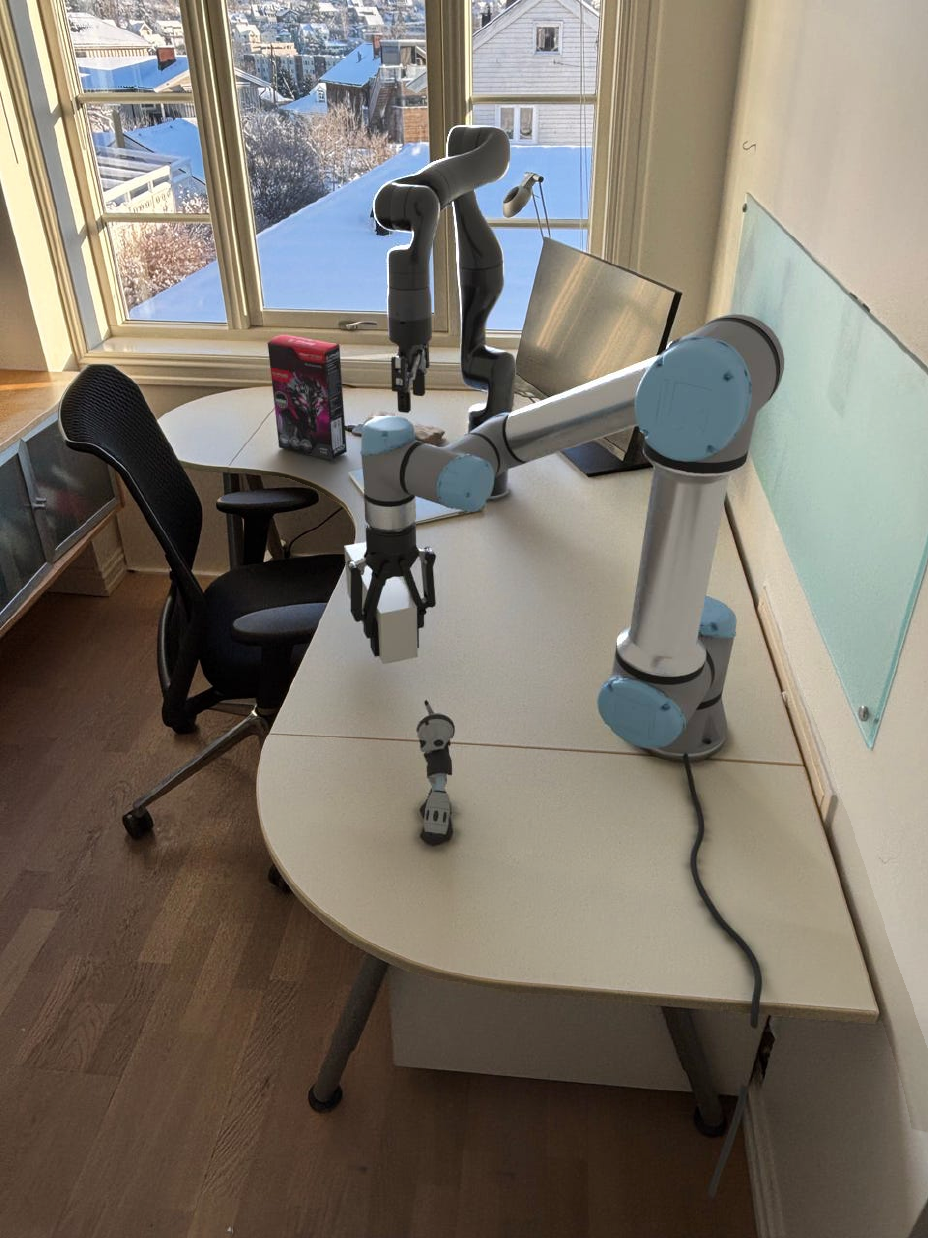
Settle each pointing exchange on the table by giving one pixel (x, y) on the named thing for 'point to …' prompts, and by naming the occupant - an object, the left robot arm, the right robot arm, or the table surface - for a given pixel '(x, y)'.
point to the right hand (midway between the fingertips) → (394, 647)
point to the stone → (416, 430)
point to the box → (389, 612)
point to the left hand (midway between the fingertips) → (411, 403)
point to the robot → (436, 775)
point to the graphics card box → (308, 395)
